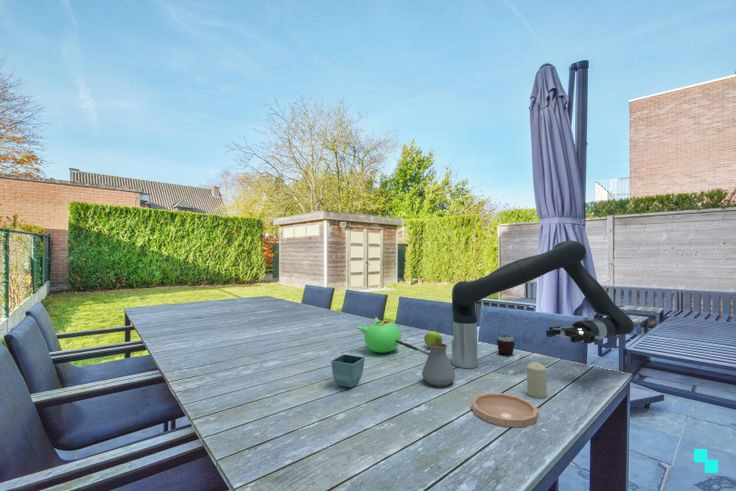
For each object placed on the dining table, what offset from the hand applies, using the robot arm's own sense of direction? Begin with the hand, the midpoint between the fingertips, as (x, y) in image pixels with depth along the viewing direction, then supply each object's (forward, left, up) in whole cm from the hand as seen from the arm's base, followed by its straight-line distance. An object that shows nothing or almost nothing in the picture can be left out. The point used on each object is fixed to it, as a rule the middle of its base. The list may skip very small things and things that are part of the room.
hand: (559, 336), depth 114 cm
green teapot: (-72, +4, -17) cm, 74 cm away
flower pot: (-61, -36, -17) cm, 73 cm away
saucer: (-12, -28, -17) cm, 35 cm away
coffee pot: (-40, -20, -17) cm, 48 cm away
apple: (-54, +21, -17) cm, 60 cm away
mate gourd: (-24, +29, -17) cm, 41 cm away
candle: (-6, -10, -17) cm, 21 cm away
